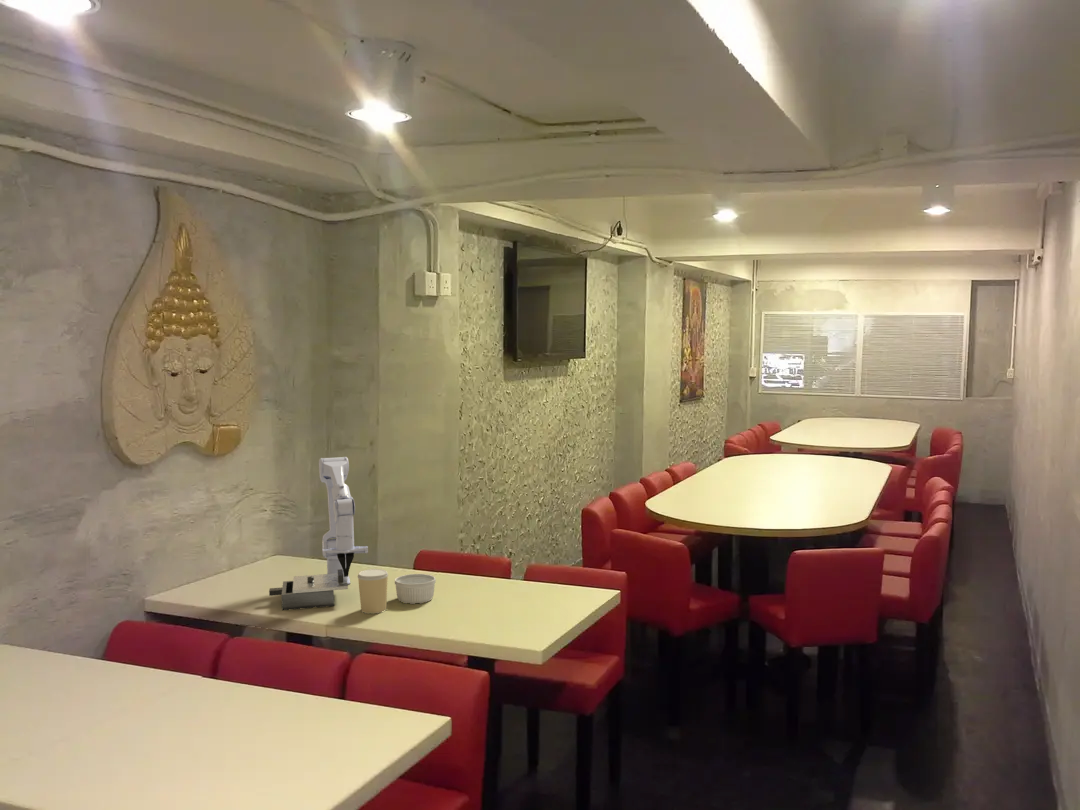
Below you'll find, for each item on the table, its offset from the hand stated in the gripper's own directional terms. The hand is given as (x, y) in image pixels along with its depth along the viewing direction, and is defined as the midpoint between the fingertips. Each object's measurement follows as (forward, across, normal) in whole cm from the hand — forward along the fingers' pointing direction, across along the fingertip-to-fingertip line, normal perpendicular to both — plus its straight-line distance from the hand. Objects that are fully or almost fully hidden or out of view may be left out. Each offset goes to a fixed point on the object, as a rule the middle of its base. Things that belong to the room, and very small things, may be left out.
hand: (346, 575), depth 287 cm
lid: (+2, -8, 0) cm, 9 cm away
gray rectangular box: (+7, -14, 0) cm, 16 cm away
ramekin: (+8, +22, -8) cm, 24 cm away
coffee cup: (+8, +8, -16) cm, 19 cm away
